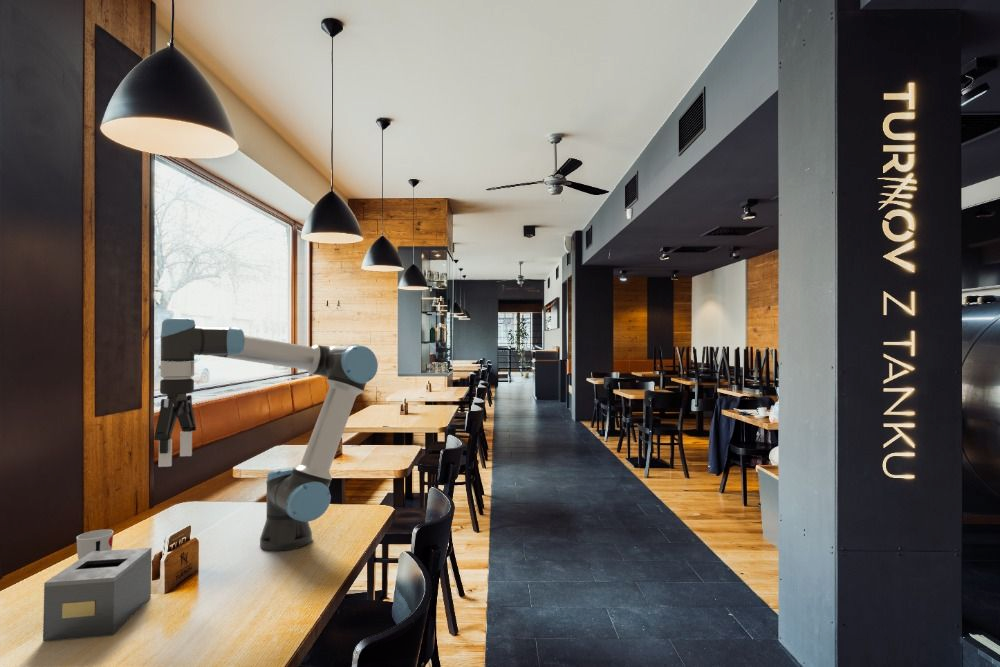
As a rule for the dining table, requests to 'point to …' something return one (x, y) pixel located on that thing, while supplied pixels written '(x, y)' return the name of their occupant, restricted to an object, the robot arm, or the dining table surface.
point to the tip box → (96, 594)
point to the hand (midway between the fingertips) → (175, 461)
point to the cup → (94, 542)
